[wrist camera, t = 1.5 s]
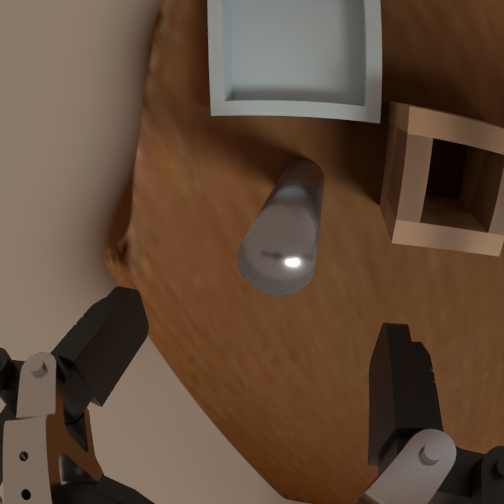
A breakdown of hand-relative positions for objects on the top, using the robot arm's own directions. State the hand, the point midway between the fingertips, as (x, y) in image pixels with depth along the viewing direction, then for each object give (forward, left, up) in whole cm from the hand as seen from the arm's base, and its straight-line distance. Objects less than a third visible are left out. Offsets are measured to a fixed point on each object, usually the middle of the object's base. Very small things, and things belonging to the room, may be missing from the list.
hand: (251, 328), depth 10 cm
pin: (0, 0, -16) cm, 16 cm away
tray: (0, -11, -16) cm, 19 cm away
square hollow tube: (-10, -3, -16) cm, 19 cm away
